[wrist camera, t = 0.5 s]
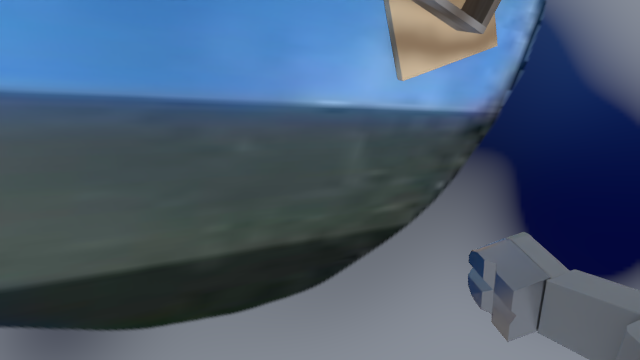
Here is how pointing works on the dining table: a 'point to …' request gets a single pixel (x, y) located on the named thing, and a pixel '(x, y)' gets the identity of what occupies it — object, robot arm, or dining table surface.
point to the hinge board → (438, 32)
